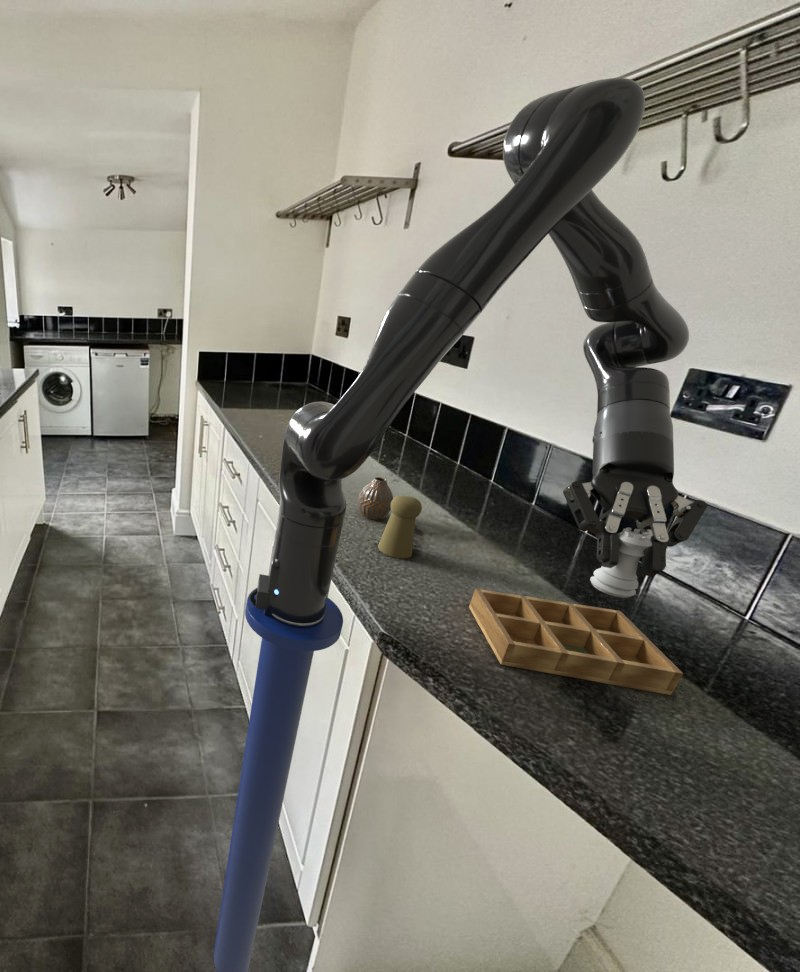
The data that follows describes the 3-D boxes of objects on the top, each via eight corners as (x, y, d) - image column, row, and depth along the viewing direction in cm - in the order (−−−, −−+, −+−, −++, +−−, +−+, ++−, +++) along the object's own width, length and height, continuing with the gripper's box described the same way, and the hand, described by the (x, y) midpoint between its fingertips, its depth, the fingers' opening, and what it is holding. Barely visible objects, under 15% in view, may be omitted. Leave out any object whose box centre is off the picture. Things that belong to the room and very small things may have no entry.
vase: (389, 513, 113) (397, 476, 109) (388, 525, 107) (397, 487, 103) (356, 506, 115) (364, 471, 112) (354, 518, 109) (362, 481, 106)
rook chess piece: (583, 585, 64) (607, 529, 60) (595, 575, 66) (619, 520, 63) (628, 603, 60) (656, 545, 57) (639, 592, 63) (667, 535, 59)
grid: (500, 664, 69) (508, 643, 67) (468, 607, 81) (475, 588, 79) (671, 695, 65) (683, 673, 63) (610, 630, 77) (620, 610, 75)
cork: (409, 561, 93) (424, 508, 89) (375, 552, 96) (388, 499, 92) (413, 548, 98) (427, 496, 94) (380, 539, 101) (392, 489, 97)
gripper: (579, 421, 65) (573, 546, 59) (725, 438, 59) (733, 577, 54) (553, 448, 71) (546, 564, 66) (683, 466, 66) (686, 592, 61)
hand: (630, 569), depth 60 cm, fingers closed on rook chess piece, 3 cm apart
